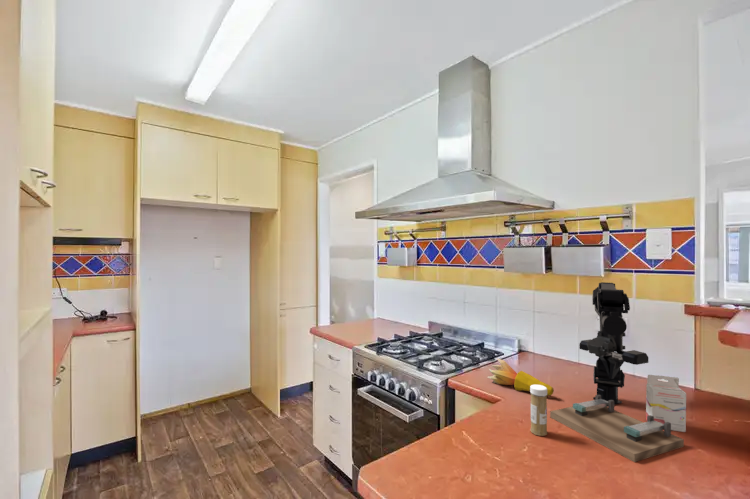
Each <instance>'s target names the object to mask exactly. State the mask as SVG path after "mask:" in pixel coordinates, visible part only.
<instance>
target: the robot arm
mask: <svg viewBox="0 0 750 499" xmlns="http://www.w3.org/2000/svg"><path fill="white" fill-rule="evenodd" d="M591 302H592V306H594V312H595V313H596V315H597V316H598V318H599V331H597V334H596V335H597V336H596V337H593V338H592V339H584V340H581V341H580V342H579V343H578V344H579V350H582V351H585V352H589V353H590V354H595V356H596V357H598V358H597V360H596V362H595V365H594V366H593V384H594V385H595V384H596V395H601V399H603V400H605V401H608V400H614V406H615V405H621V404H623V401H622V400H619V388H620V389H623V387H625V376H626V374H625V373H624V372H623V369H621V367H622V366H623V364H624V363H628V364H631V365H636V366H637V365H643V364H648V363H649V356H648V354H647V353H646V352H642V351H639V350H633V349H632V350H627V351H626V345H624V344H623V341H624V340H623V337H626V330H627V327H628V326H627V323H626V321H625V319H624V317H623V314H629V311H630V309H631V307H630V299H629V296H628V295H627V293H625V291H624V290H623V289H618V288H616V283H614V282H602V281H601V282H599V283H598V286H597V287H595V289H593V290H592V300H591ZM624 350H625V351H624ZM592 400H595V396H593V397H592Z"/></svg>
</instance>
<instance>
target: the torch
mask: <svg viewBox="0 0 750 499" xmlns="http://www.w3.org/2000/svg"><path fill="white" fill-rule="evenodd" d="M496 360H497V361H498V363H499V364H500V365H499V364H491V367H492V368H494V369H491V368H488V370H489V372H490V373H491V375H492V376H491V375H490V376H489V375H488V376H487V378H488V379H490V380H492V383H493V384H496V385H502V386H503V385H504V386H514V389H515V391H519V392H520V391H525V392H530V386H531V385H542V386H545V387H546V388H547V396H552V395H553V394H554V390H555V389H554V387H552V385H550V384H548V383H546V382H543V381H541V380H539V379H538V378H536V377H534V376H533V375H531V374H529V373H527V372H525V371H523V370H520V371H518V372H517V371H515V369H513V367H512V366H511V365H510V364H508V362H507V361H506V360H504V359H501V358H499V357H498V358H497V357H496Z"/></svg>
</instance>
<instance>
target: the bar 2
mask: <svg viewBox="0 0 750 499" xmlns="http://www.w3.org/2000/svg"><path fill="white" fill-rule="evenodd" d="M661 430H663V431H664V424H662V423H660V422H657V421H655V420H653V421H648V422H647V421H645V422H644V423H640V424H636V425H632V426H625V427H624V432H625V433H627V434H629V435H632V436H634V437H640V436H641V435H645V434H649V433H653V432H657V431H661Z"/></svg>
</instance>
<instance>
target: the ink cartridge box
mask: <svg viewBox="0 0 750 499" xmlns="http://www.w3.org/2000/svg"><path fill="white" fill-rule="evenodd" d="M661 380H662V381H661ZM663 380H665V381H663ZM646 382H647V383H646V390H645V391H646V393H645V395H646V398H645V399H646V402H645V408H646V409H645V422H647V416H649V415H652V416H654V420H655V421H657V422H660V423H662V424H664V423H666V422H669V423H671V431H673V432H674V431H675V432H682V433H686V432H687V427H686V426H687V424H686V423H687V392H685V391H684V390H683V389H681V388H680V387H679V384H680V383H679V382H680V378H679V377H675V376H668V375H667V376H666V375H657V374H656V375H655V374H647V380H646Z"/></svg>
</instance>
